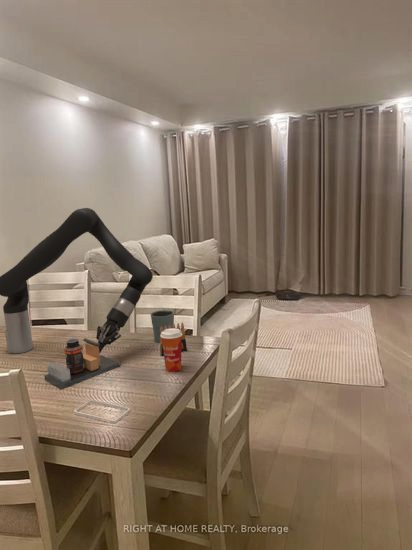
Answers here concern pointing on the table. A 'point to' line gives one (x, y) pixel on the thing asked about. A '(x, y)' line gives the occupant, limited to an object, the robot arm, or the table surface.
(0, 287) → the robot arm
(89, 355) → the sliding jaw
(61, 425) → the table surface
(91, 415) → the phone case
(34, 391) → the table surface
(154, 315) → the green embossed pot
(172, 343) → the paper cup
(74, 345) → the supplement bottle
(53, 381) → the base
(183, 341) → the ammunition clip
